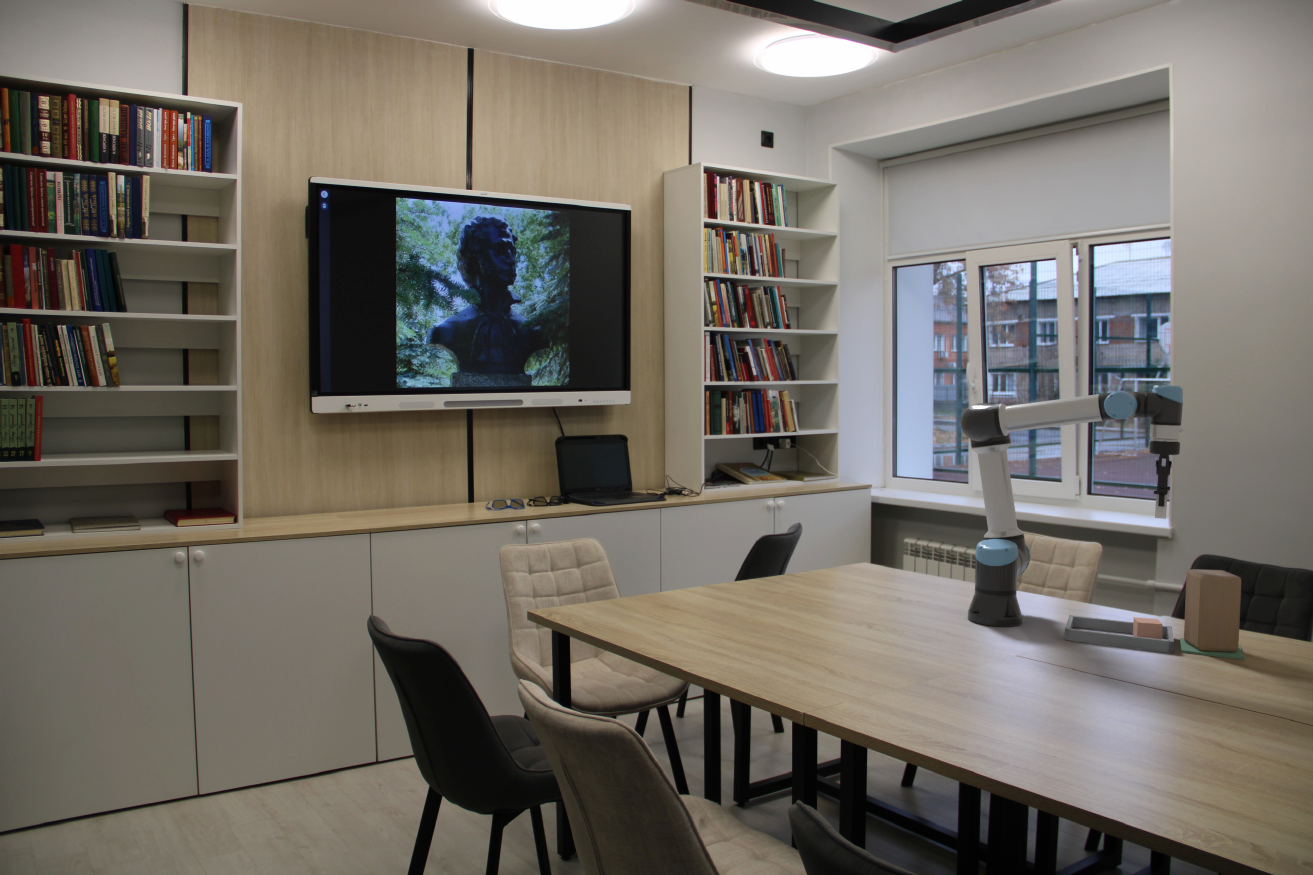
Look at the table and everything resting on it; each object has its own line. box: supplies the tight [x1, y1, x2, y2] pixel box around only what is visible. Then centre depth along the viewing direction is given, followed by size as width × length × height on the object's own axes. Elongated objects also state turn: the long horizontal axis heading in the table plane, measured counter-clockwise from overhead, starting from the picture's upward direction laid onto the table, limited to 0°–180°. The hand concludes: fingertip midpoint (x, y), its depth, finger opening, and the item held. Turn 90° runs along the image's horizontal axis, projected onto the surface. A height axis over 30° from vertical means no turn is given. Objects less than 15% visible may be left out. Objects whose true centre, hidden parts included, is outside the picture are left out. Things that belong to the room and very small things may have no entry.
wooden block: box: [1183, 568, 1242, 652], centre depth 248 cm, size 10×10×20 cm
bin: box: [1063, 614, 1175, 654], centre depth 259 cm, size 26×18×3 cm
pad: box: [1179, 637, 1245, 661], centre depth 249 cm, size 14×14×1 cm
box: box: [1132, 616, 1163, 640], centre depth 255 cm, size 6×6×6 cm
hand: (1160, 515), depth 264 cm, fingers open, 13 cm apart
